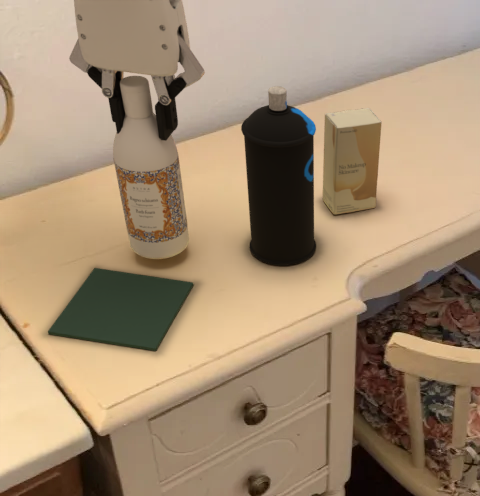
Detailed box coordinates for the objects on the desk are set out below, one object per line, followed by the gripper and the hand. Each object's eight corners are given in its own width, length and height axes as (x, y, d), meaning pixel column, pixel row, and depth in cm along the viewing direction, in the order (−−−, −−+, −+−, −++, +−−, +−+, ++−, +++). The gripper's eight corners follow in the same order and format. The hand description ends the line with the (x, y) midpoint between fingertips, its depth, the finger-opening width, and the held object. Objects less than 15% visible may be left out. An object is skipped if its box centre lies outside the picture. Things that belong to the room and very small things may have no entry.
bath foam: (123, 258, 97) (89, 92, 84) (139, 226, 102) (110, 64, 89) (182, 263, 97) (158, 97, 84) (195, 231, 102) (175, 69, 89)
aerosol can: (261, 272, 99) (251, 111, 85) (241, 235, 104) (229, 78, 91) (326, 258, 102) (326, 101, 88) (303, 224, 107) (300, 70, 93)
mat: (48, 334, 89) (47, 331, 89) (95, 270, 98) (94, 267, 97) (155, 351, 88) (155, 348, 88) (193, 285, 97) (193, 282, 96)
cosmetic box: (333, 216, 109) (334, 128, 100) (321, 200, 111) (321, 112, 103) (378, 207, 111) (383, 120, 102) (365, 191, 114) (369, 105, 105)
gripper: (219, -55, 79) (232, 126, 92) (51, -75, 81) (87, 106, 93) (193, -31, 74) (210, 158, 87) (14, -52, 75) (57, 137, 88)
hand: (146, 130), depth 90 cm, fingers closed on bath foam, 4 cm apart
